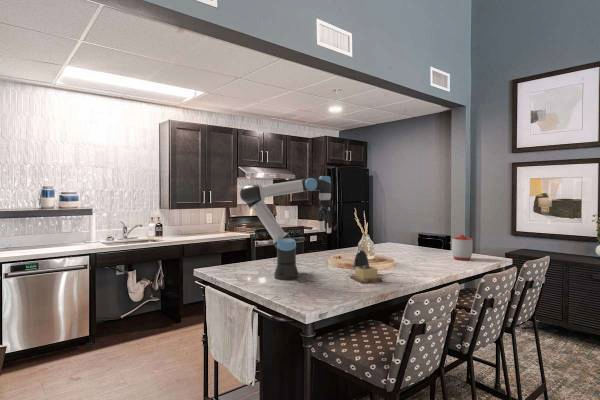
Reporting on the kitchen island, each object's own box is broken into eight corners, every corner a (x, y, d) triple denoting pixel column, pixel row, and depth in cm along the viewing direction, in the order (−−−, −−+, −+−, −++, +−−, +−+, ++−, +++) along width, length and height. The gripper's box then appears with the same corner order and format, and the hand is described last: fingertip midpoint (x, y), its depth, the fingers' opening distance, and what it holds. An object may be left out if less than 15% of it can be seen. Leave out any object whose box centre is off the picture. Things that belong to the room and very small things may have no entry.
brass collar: (363, 279, 213) (363, 269, 213) (355, 276, 222) (355, 266, 222) (377, 278, 216) (377, 268, 216) (369, 275, 225) (369, 265, 225)
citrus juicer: (455, 256, 302) (455, 232, 302) (476, 259, 288) (476, 234, 288) (445, 258, 292) (445, 233, 292) (467, 261, 279) (467, 235, 278)
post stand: (361, 283, 210) (361, 269, 210) (350, 278, 223) (350, 264, 223) (382, 281, 215) (382, 267, 215) (370, 276, 228) (370, 263, 228)
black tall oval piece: (351, 274, 235) (351, 250, 234) (356, 271, 244) (356, 248, 244) (366, 276, 230) (366, 252, 230) (371, 272, 239) (371, 249, 239)
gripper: (338, 199, 229) (338, 233, 229) (322, 199, 253) (322, 230, 253) (327, 200, 227) (327, 234, 227) (312, 199, 250) (312, 230, 251)
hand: (324, 232), depth 240 cm, fingers open, 13 cm apart
